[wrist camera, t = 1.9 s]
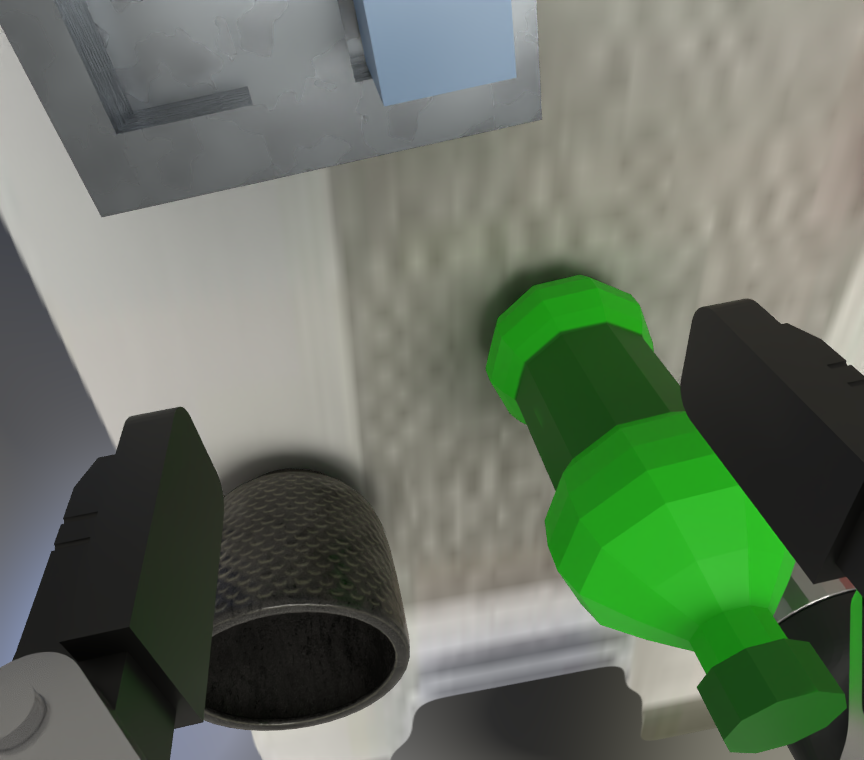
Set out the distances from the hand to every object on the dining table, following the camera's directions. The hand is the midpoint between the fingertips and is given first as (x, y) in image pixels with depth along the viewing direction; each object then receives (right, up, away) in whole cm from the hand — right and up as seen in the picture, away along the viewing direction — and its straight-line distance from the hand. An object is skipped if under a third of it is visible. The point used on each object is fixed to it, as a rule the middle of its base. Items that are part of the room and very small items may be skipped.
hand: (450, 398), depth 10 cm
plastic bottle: (+7, +4, +31) cm, 32 cm away
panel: (-7, +17, +17) cm, 25 cm away
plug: (-2, +18, +17) cm, 25 cm away
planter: (-11, -9, +37) cm, 39 cm away
